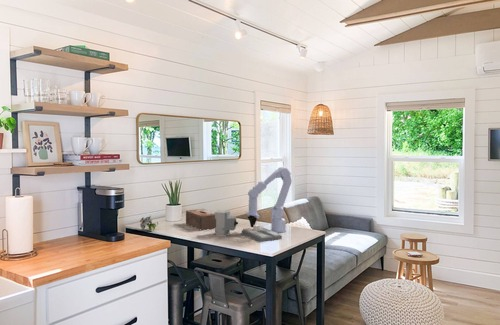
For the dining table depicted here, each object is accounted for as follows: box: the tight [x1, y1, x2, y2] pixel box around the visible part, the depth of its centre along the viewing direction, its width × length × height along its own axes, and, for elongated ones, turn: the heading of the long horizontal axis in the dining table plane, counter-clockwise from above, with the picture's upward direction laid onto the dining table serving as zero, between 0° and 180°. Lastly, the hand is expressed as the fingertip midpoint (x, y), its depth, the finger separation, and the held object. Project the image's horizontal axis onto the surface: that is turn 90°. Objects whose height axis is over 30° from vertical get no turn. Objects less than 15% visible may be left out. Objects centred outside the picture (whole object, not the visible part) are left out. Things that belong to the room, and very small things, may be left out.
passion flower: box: [139, 215, 159, 233], centre depth 263 cm, size 11×11×12 cm
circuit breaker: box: [214, 209, 239, 237], centre depth 255 cm, size 8×14×15 cm, turn 78°
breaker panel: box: [241, 226, 283, 243], centre depth 252 cm, size 16×24×3 cm, turn 30°
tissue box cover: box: [185, 208, 216, 231], centre depth 280 cm, size 26×14×10 cm, turn 35°
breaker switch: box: [252, 224, 261, 231], centre depth 257 cm, size 3×4×4 cm
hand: (252, 226), depth 261 cm, fingers closed
